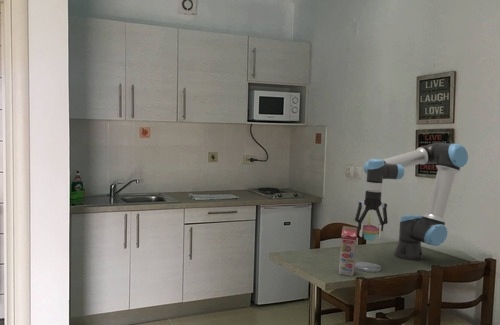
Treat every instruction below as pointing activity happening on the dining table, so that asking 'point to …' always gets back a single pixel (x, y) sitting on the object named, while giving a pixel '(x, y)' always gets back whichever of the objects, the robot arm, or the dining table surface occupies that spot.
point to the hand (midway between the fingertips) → (369, 236)
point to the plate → (367, 267)
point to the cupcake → (370, 231)
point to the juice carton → (348, 250)
